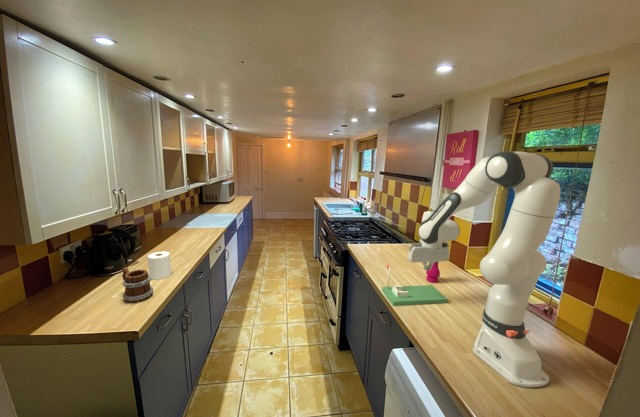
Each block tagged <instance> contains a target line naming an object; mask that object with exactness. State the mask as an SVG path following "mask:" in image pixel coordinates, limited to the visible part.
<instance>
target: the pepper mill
mask: <svg viewBox="0 0 640 417" xmlns="http://www.w3.org/2000/svg"><path fill="white" fill-rule="evenodd" d="M439 263H440V261H437V262H434V264H433V266H432V267H431V270H425V274H426V278H425V279H426V281H427V282H429V283H432V284H436V283H439V277H440V276H441V272H440V269H439Z"/></svg>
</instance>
